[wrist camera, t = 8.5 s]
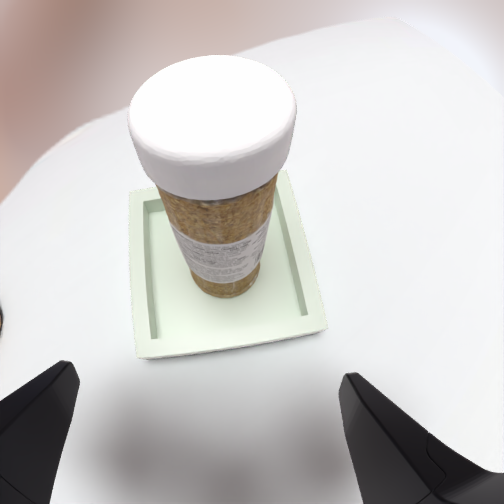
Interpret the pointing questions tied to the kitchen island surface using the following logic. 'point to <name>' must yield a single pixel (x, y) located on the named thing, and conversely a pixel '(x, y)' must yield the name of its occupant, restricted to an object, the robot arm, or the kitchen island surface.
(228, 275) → the sprinkles bottle
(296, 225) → the tray
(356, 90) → the kitchen island surface
